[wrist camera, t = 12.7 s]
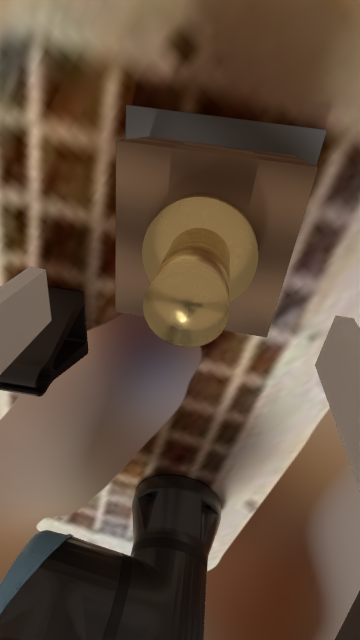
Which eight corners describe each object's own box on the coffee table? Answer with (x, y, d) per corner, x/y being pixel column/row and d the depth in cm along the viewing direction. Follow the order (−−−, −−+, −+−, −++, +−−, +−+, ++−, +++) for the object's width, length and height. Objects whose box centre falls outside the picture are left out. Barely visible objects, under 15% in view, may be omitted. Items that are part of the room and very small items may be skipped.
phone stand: (88, 352, 42) (42, 424, 32) (44, 345, 43) (-15, 414, 32) (83, 290, 38) (28, 352, 27) (34, 283, 38) (-39, 341, 28)
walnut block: (272, 301, 35) (285, 362, 26) (126, 278, 36) (92, 328, 27) (322, 129, 26) (368, 132, 18) (131, 105, 27) (82, 96, 19)
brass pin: (241, 267, 31) (248, 385, 17) (163, 255, 31) (107, 360, 17) (260, 182, 27) (289, 245, 13) (171, 170, 27) (105, 218, 13)
